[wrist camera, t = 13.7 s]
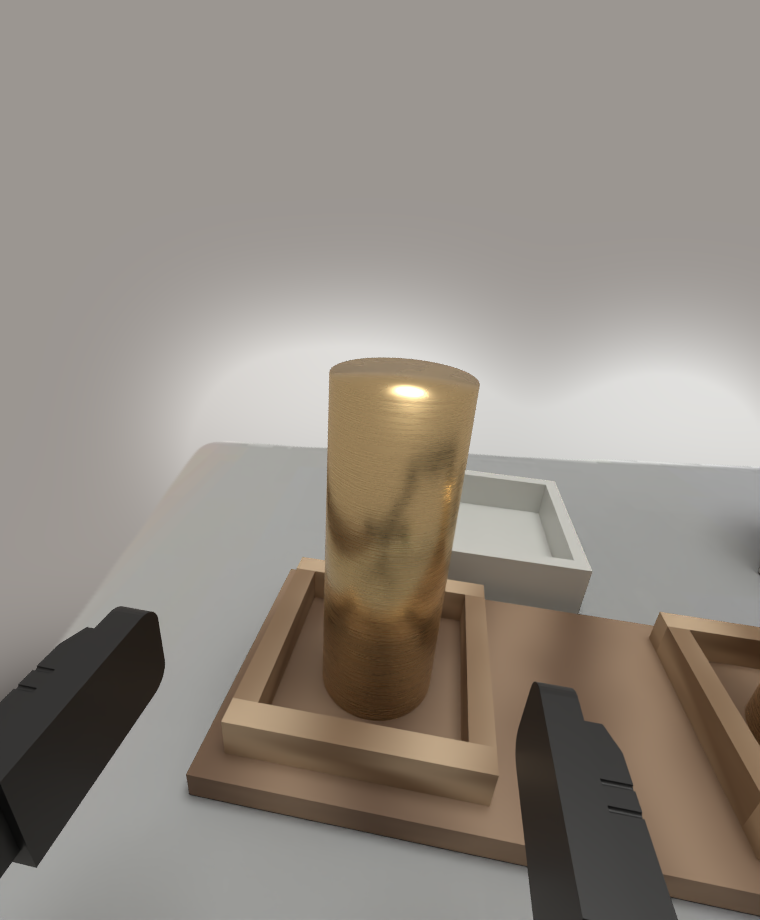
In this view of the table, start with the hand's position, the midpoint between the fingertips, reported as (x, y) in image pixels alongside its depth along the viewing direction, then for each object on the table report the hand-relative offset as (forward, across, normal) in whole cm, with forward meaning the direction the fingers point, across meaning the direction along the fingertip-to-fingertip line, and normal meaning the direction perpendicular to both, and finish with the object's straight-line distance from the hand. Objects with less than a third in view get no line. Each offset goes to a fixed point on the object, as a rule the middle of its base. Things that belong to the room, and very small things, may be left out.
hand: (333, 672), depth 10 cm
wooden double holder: (+9, -10, +11) cm, 17 cm away
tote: (+21, -6, +11) cm, 24 cm away
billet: (+9, 0, +10) cm, 13 cm away
